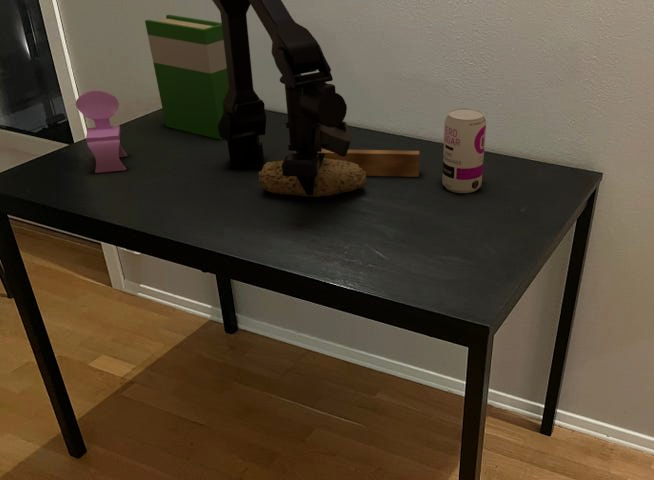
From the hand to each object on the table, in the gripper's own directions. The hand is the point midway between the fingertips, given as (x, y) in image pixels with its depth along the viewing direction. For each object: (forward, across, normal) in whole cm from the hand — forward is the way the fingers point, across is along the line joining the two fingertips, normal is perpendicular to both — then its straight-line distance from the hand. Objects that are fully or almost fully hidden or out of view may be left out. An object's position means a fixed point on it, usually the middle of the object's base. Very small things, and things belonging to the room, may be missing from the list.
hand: (310, 194), depth 137 cm
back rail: (+2, +17, -8) cm, 19 cm away
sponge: (+3, +7, 0) cm, 8 cm away
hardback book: (+2, +44, +32) cm, 54 cm away
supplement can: (+3, +12, -30) cm, 32 cm away
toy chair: (+2, +19, +46) cm, 50 cm away
